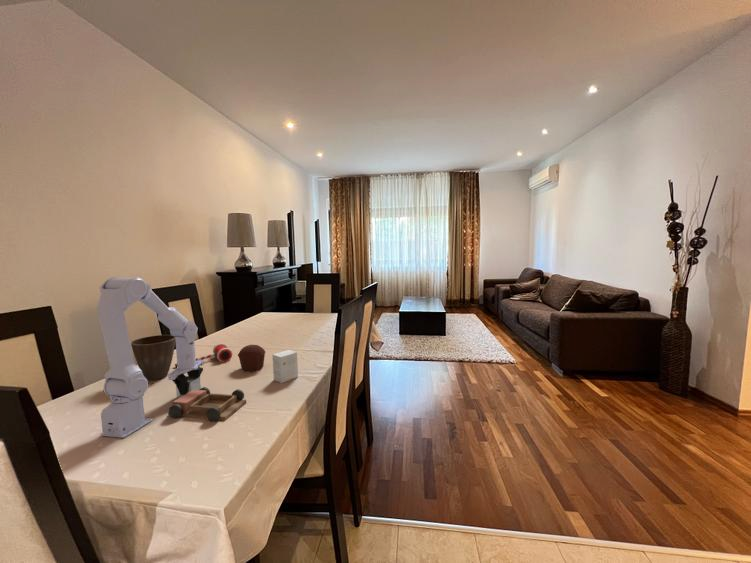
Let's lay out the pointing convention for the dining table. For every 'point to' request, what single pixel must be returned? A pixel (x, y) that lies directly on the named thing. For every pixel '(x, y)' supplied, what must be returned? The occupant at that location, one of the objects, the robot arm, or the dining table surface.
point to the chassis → (207, 404)
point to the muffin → (251, 358)
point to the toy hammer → (218, 353)
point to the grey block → (191, 385)
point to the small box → (285, 366)
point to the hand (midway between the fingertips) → (188, 391)
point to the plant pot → (154, 355)
